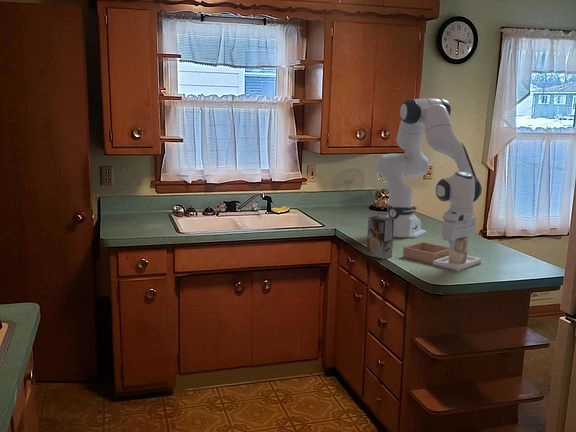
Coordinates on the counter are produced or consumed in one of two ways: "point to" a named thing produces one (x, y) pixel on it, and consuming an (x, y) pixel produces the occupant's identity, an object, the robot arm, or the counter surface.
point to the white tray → (447, 265)
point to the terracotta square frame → (425, 251)
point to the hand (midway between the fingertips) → (458, 248)
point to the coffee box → (380, 237)
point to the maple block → (459, 251)
